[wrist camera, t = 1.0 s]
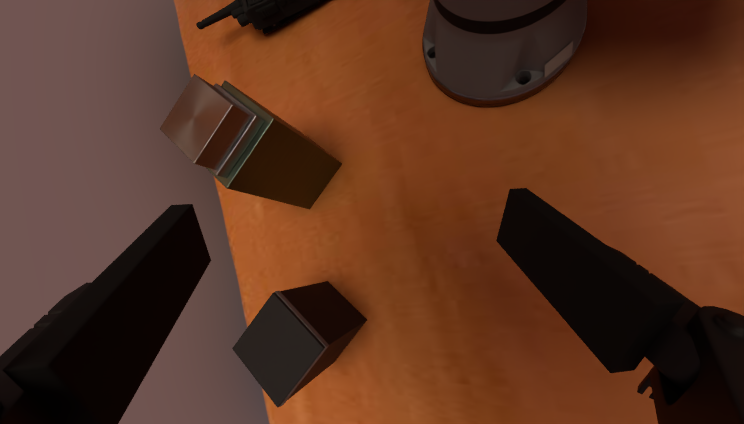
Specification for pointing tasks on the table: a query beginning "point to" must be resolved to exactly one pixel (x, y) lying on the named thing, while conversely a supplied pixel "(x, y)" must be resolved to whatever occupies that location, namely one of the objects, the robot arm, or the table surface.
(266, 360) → the dark lidded box
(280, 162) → the olive square canister
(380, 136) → the table surface
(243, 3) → the walkie-talkie
